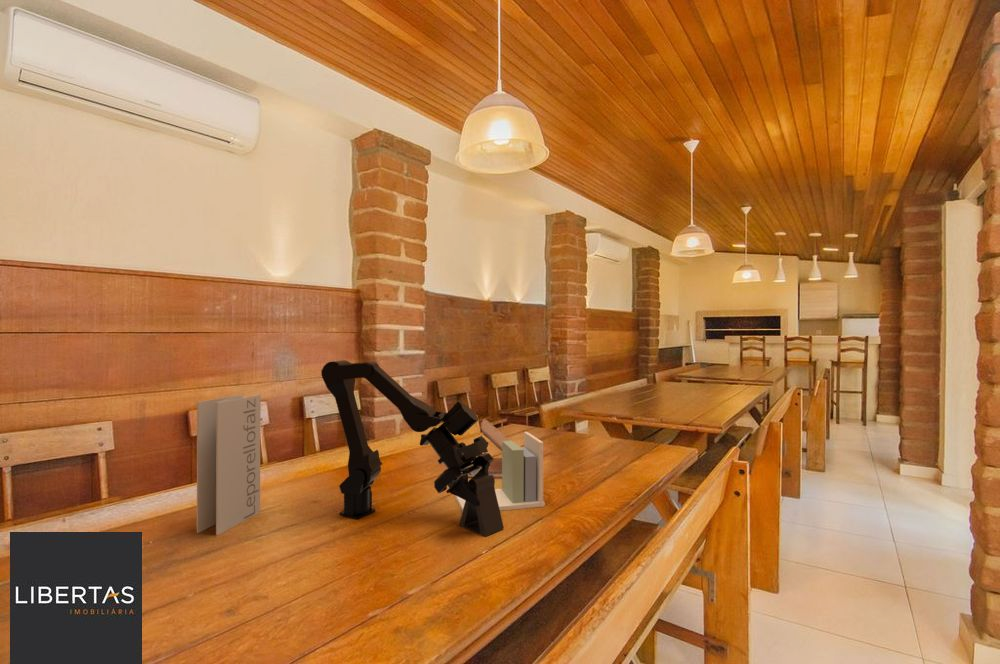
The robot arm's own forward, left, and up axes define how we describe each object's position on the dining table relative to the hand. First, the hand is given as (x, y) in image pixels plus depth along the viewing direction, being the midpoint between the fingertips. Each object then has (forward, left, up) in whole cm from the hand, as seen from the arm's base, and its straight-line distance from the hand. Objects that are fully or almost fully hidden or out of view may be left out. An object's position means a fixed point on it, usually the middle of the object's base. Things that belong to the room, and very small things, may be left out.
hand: (486, 500), depth 114 cm
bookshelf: (+18, +7, -7) cm, 20 cm away
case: (+44, +23, -7) cm, 50 cm away
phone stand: (0, +1, -7) cm, 7 cm away
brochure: (-28, +55, -7) cm, 63 cm away
